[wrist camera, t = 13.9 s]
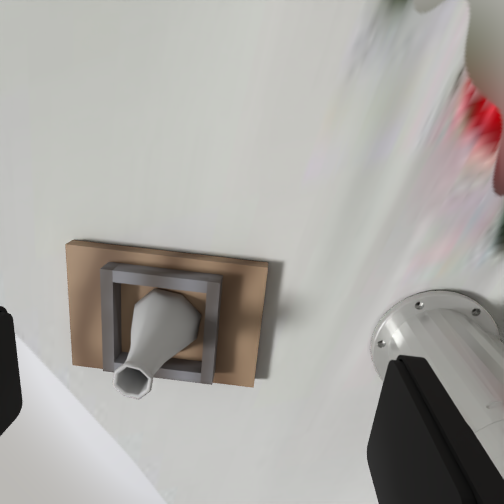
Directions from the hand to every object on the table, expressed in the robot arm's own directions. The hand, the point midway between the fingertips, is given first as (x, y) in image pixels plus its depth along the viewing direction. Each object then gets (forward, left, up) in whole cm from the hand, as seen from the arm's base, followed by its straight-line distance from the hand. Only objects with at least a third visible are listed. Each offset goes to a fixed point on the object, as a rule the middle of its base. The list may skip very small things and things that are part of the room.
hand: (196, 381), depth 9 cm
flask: (+8, +14, -27) cm, 31 cm away
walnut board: (+8, +14, -28) cm, 33 cm away
